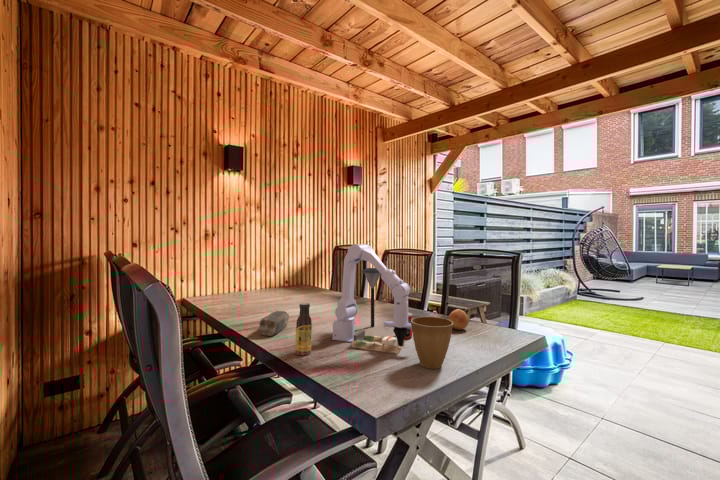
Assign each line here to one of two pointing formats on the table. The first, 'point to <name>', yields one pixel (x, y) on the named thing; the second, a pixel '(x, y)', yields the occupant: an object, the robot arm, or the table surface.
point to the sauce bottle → (303, 331)
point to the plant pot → (431, 340)
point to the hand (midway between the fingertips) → (401, 345)
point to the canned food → (409, 333)
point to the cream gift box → (389, 340)
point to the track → (373, 343)
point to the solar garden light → (372, 286)
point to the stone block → (273, 323)
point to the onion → (459, 319)
